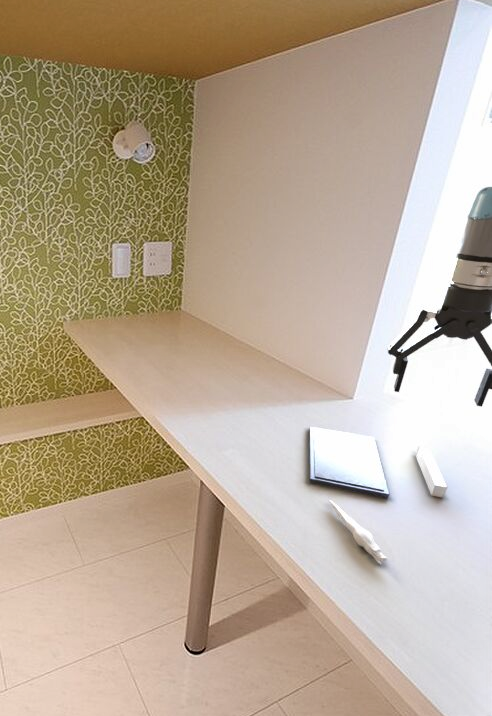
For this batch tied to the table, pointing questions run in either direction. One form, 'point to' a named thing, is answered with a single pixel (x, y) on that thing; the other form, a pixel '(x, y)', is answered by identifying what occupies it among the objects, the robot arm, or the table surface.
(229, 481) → the table surface
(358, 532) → the white tapered piece
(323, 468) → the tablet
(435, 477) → the white rectangular bar
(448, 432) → the table surface
